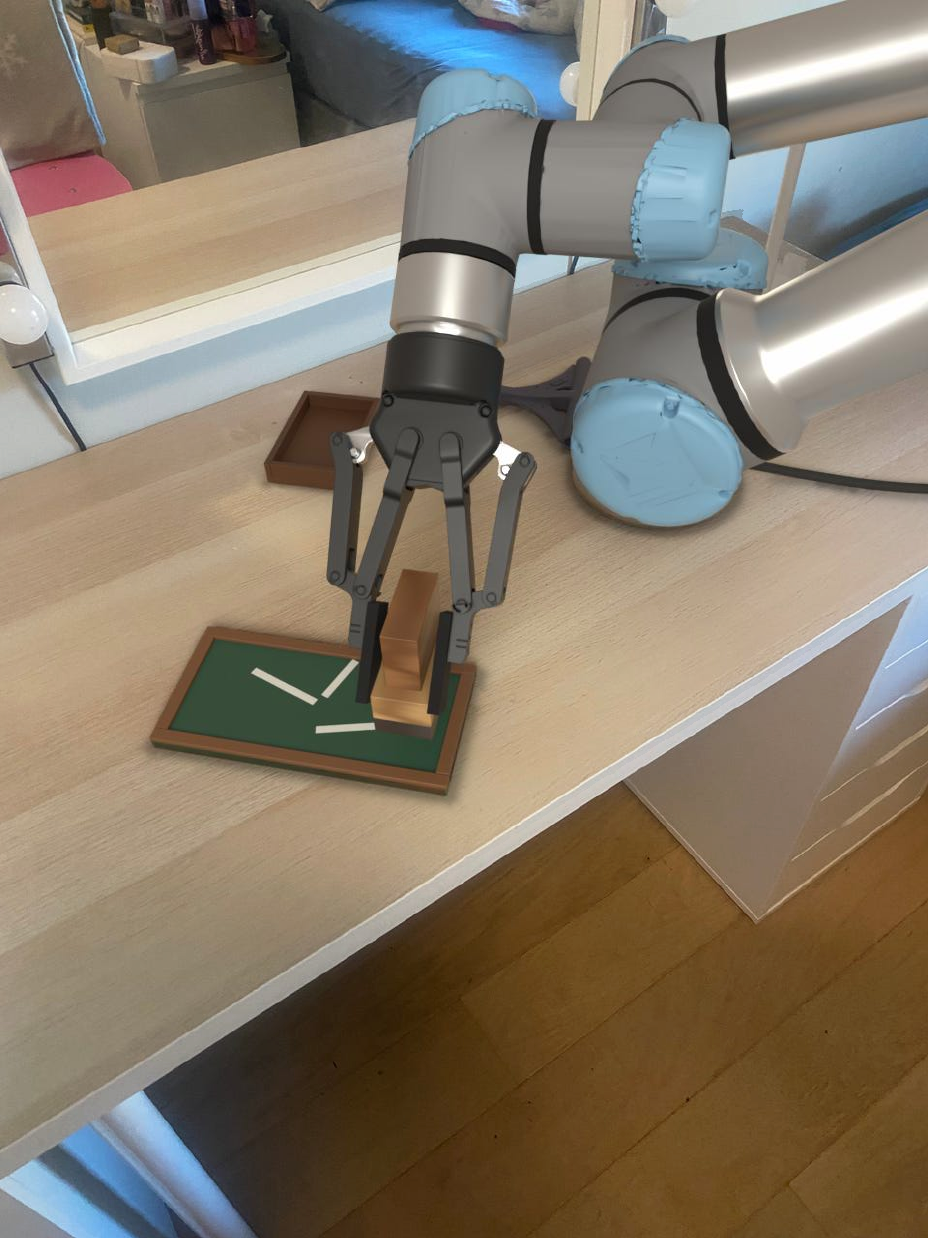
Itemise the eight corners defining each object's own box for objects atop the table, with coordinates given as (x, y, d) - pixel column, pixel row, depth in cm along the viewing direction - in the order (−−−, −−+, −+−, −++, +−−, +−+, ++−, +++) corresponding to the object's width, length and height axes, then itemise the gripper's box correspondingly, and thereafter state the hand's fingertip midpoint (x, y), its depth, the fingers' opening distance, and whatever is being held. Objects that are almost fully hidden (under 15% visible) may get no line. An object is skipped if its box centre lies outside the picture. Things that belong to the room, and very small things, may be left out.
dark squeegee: (456, 359, 99) (456, 336, 97) (590, 370, 97) (592, 347, 95) (430, 437, 90) (428, 414, 88) (577, 451, 88) (579, 428, 86)
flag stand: (686, 336, 101) (742, 30, 79) (712, 283, 109) (769, -9, 87) (804, 358, 98) (897, 45, 76) (822, 302, 106) (911, 3, 83)
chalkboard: (476, 674, 69) (476, 664, 68) (446, 796, 62) (446, 787, 61) (210, 636, 73) (207, 625, 72) (153, 748, 65) (148, 737, 64)
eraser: (456, 650, 65) (453, 563, 59) (432, 740, 60) (426, 656, 53) (403, 642, 66) (394, 556, 59) (375, 731, 61) (361, 646, 54)
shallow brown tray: (383, 416, 92) (381, 397, 91) (350, 492, 84) (347, 472, 83) (307, 408, 94) (304, 389, 92) (267, 482, 86) (263, 463, 84)
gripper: (582, 369, 59) (535, 717, 61) (335, 345, 61) (295, 680, 63) (580, 340, 52) (526, 736, 53) (299, 313, 54) (255, 693, 56)
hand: (401, 705), depth 58 cm, fingers closed on eraser, 4 cm apart
